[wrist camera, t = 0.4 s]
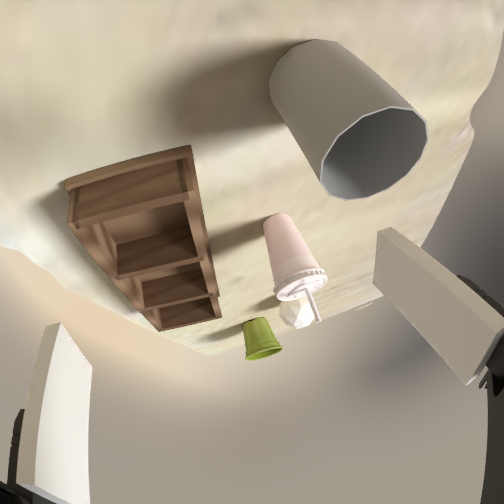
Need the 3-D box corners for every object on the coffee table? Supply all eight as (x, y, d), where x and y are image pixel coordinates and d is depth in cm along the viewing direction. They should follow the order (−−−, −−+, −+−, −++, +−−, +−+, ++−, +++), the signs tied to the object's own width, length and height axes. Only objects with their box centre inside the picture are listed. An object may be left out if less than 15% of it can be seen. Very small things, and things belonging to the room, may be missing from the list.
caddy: (65, 179, 23) (59, 222, 21) (190, 145, 25) (199, 184, 23) (152, 306, 51) (156, 333, 49) (218, 291, 53) (225, 317, 50)
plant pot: (246, 315, 69) (257, 351, 65) (279, 312, 74) (290, 345, 70) (229, 330, 75) (238, 362, 71) (261, 326, 80) (270, 357, 76)
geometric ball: (278, 285, 66) (268, 314, 60) (314, 281, 62) (306, 312, 56) (290, 308, 70) (281, 336, 64) (323, 305, 66) (317, 335, 60)
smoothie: (307, 217, 41) (349, 313, 34) (270, 241, 43) (303, 335, 37) (283, 199, 36) (328, 308, 29) (242, 227, 38) (276, 334, 32)
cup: (307, 133, 28) (354, 213, 23) (247, 88, 22) (293, 171, 17) (372, 80, 23) (439, 151, 18) (324, 20, 17) (406, 81, 13)
